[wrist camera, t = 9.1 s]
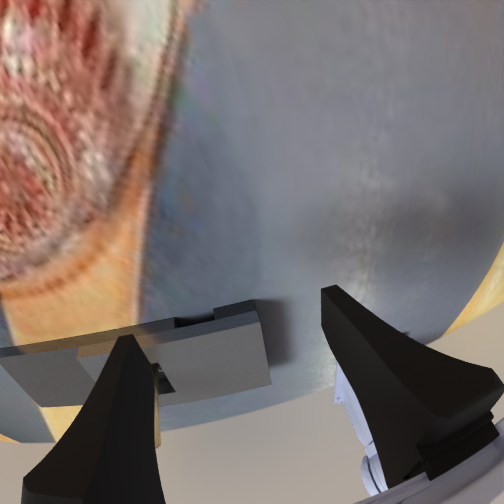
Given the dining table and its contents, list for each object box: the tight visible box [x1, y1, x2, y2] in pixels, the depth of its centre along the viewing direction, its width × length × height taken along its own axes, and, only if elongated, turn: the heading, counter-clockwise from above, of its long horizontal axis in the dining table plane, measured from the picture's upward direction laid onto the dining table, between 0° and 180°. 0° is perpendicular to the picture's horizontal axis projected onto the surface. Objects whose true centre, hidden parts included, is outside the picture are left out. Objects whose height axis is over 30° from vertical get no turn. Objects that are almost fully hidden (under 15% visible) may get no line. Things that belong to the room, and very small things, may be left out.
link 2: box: [77, 300, 272, 407], centre depth 24 cm, size 8×14×2 cm, turn 99°
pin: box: [151, 363, 161, 449], centre depth 22 cm, size 3×3×8 cm
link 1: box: [0, 318, 178, 407], centre depth 24 cm, size 8×18×1 cm, turn 99°
